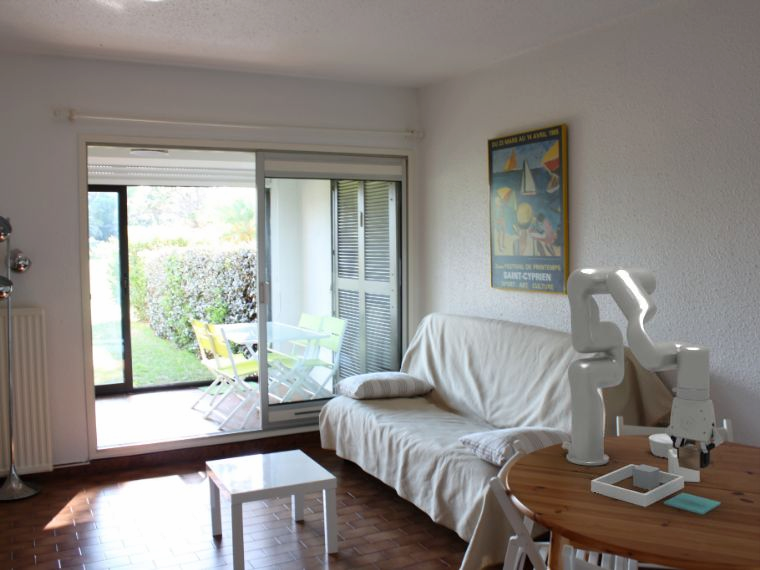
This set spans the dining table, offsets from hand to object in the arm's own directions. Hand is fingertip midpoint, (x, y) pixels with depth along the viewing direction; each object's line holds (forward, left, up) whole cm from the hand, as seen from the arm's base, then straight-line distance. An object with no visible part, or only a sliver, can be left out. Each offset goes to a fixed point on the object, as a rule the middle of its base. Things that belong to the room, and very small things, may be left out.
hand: (693, 463), depth 182 cm
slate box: (-15, +5, -11) cm, 19 cm away
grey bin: (-15, 0, -11) cm, 19 cm away
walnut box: (0, 0, -1) cm, 1 cm away
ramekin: (-25, +36, -11) cm, 45 cm away
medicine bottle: (-11, +18, -11) cm, 24 cm away
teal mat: (0, 0, -11) cm, 11 cm away
